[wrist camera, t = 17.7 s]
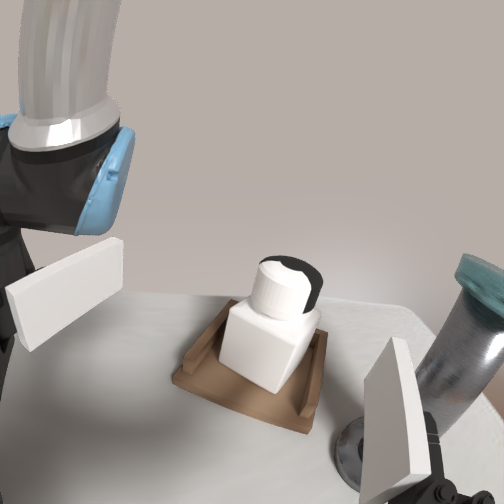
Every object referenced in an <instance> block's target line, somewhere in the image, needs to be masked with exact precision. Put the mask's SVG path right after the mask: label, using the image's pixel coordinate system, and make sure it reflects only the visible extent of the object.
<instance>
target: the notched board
mask: <svg viewBox="0 0 504 504" xmlns="http://www.w3.org/2000/svg"><path fill="white" fill-rule="evenodd" d="M237 303H239V302H237V301H235V300H232V299H231V300H230V301H229V302H228V304H227V305H226V306H225V307H224V308H223V310H222V311H221V312H220V313H219V314H218V316H217V317H216V318H215V319H214V321H213V322H212V323H211V324H210V325H209V327H208V328H207V329H206V330H205V331H204V333H203V334H202V335H201V336H200V337H199V339H198V340H197V341H196V342H195V343H194V345H193V346H192V347H191V348H190V349H189V351H188V352H187V353H186V354H185V355H184V360H183V364H182V365H181V367H180V368H179V369H178V370H177V371H176V373H175V374H174V375H173V384H175V385H177V386H179V387H181V388H183V389H185V390H187V391H189V392H192V393H194V394H196V395H198V396H200V397H203V398H205V399H207V400H209V401H212V402H214V403H217V404H219V405H221V406H224V407H226V408H229V409H231V410H234V411H236V412H239V413H242V414H244V415H247V416H250V417H253V418H255V419H258V420H261V421H264V422H267V423H270V424H273V425H276V426H279V427H283V428H286V429H289V430H293V431H296V432H300V433H303V434H308V433H309V431H310V430H311V429H312V425H313V420H314V415H315V409H316V407H317V405H318V400H319V394H320V388H321V381H322V375H323V368H324V361H325V353H326V345H327V337H328V332H325V331H322V330H319V329H316V330H315V332H314V334H313V337H312V339H311V341H310V344H309V346H308V348H307V350H306V353H305V355H304V357H303V359H302V361H301V362H300V364H299V365H298V366H297V368H296V369H295V370H294V372H293V373H292V374H291V376H290V377H289V378H288V380H287V381H286V382H285V384H284V385H283V386H282V387H281V389H280V390H279V391H278V393H276V394H273V393H271V392H269V391H267V390H265V389H264V388H262V387H260V386H258V385H257V384H255V383H253V382H251V381H250V380H248V379H246V378H245V377H243V376H241V375H240V374H238V373H236V372H235V371H233V370H231V369H230V368H228V367H227V366H225V365H223V364H222V363H220V362H219V354H220V349H221V345H222V340H223V336H224V331H225V327H226V322H227V318H228V313H229V310H230V308H231V307H233V306H234V305H236V304H237Z"/></svg>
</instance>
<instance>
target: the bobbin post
mask: <svg viewBox="0 0 504 504" xmlns="http://www.w3.org/2000/svg"><path fill="white" fill-rule="evenodd" d="M455 278H456V280H457V281H458V283H459V284H460V285H461V286H462V287H463V288H462V290H461V293H460V294H459V297H458V299H457V301H456V303H455V305H454V307H453V309H452V310H451V312H450V314H449V316H448V318H447V320H446V322H445V324H444V325H443V327H442V329H441V331H440V332H439V334H438V336H437V338H436V339H435V341H434V343H433V344H432V346H431V347H430V349H429V351H428V352H427V354H426V355H425V357H424V358H423V360H422V362H421V363H420V365H419V366H418V368H417V369H416V370H415V377H416V381H417V385H418V390H419V395H420V400H421V405H422V410H423V411H427V412H430V413H431V414H432V416H433V418H434V420H435V422H436V425H437V430H438V435H437V436H439V438H440V437H441V436H442V435H443V434H444V433H445V432H446V431H447V430H448V429H449V428H450V427H451V426H452V425H453V424H454V423H455V422H456V421H457V420H458V419H459V418H460V417H461V416H462V415H463V414H464V412H465V411H466V410H467V409H468V408H469V407H470V406H471V404H472V403H473V402H474V401H475V400H476V398H477V397H478V396H479V395H480V393H481V392H482V391H483V390H484V388H485V387H486V386H487V384H488V383H489V382H490V381H491V379H492V378H493V376H494V375H495V374H496V372H497V371H498V369H499V368H500V366H501V365H502V364H503V362H504V270H502V269H500V268H498V267H497V266H495V265H493V264H491V263H489V262H487V261H485V260H483V259H481V258H478V257H476V256H473V255H470V254H463V255H462V258H461V260H460V263H459V265H458V268H457V270H456V272H455ZM363 447H364V417H362V418H359V419H357V420H355V421H353V422H352V423H350V424H349V425H348V426H347V427H346V428H345V430H344V431H343V432H342V433H341V435H340V436H339V438H338V439H337V442H336V445H335V450H334V458H335V464H336V467H337V470H338V472H339V474H340V475H341V477H342V478H343V480H344V481H345V482H346V483H347V484H348V485H349V486H350V487H351V488H353V489H354V490H356V491H357V492H359V493H360V488H361V477H362V464H363Z"/></svg>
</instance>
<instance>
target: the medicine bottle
mask: <svg viewBox="0 0 504 504" xmlns="http://www.w3.org/2000/svg"><path fill="white" fill-rule="evenodd" d="M322 285H323V279H322V276H321V274H320V273H319V272H318V271H317V270H316V269H315V268H314V267H312V266H311V265H310V264H308V263H306V262H305V261H302V260H300V259H297V258H294V257H288V256H270V257H267V258H265V259H263V260H262V261H261V262H260V263H259V267H258V271H257V274H256V278H255V282H254V286H253V290H252V293H251V295H250V296H248V297H247V298H245V299H244V300H242V301H241V302H239V303H237V304H236V305H234V306H233V307H231V308H230V310H229V313H228V318H227V322H226V327H225V331H224V336H223V340H222V345H221V349H220V354H219V362H220V363H222V364H223V365H225V366H227V367H228V368H230V369H231V370H233V371H235V372H236V373H238V374H240V375H241V376H243V377H245V378H246V379H248V380H250V381H251V382H253V383H255V384H257V385H258V386H260V387H262V388H264V389H265V390H267V391H269V392H271V393H273V394H276V393H278V391H279V390H280V389H281V387H282V386H283V385H284V384H285V382H286V381H287V380H288V378H289V377H290V376H291V374H292V373H293V372H294V370H295V369H296V368H297V366H298V365H299V364H300V362H301V361H302V359H303V357H304V355H305V353H306V350H307V348H308V346H309V344H310V341H311V339H312V337H313V334H314V332H315V330H316V327H317V325H318V323H319V320H320V318H321V315H322V313H321V311H319V310H317V309H315V308H314V306H315V304H316V301H317V298H318V296H319V293H320V290H321V288H322Z"/></svg>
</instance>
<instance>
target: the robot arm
mask: <svg viewBox="0 0 504 504" xmlns="http://www.w3.org/2000/svg"><path fill="white" fill-rule="evenodd" d="M120 4H121V0H24V5H23V12H22V19H21V28H20V39H19V58H18V82H19V83H18V84H19V103H20V111H19V113H18V114H7V115H0V400H1V395H2V389H3V384H4V380H5V375H6V371H7V367H8V363H9V359H10V356H11V352H12V348H13V345H14V340H15V338H14V334H15V333H18V336H19V339H20V342H21V343H22V344H23V346H24V347H25V348H26V349H27V350H28V351H29V352H31V351H33V350H34V349H35V348H37V347H38V346H39V345H41V344H42V343H44V342H45V341H46V340H48V339H49V338H50V337H52V336H53V335H55V334H56V333H57V332H59V331H60V330H62V329H63V328H64V327H66V326H67V325H69V324H70V323H72V322H73V321H74V320H76V319H77V318H79V317H80V316H82V315H83V314H85V313H86V312H87V311H89V310H90V309H92V308H93V307H95V306H96V305H98V304H99V303H101V302H102V301H104V300H105V299H107V298H108V297H110V296H111V295H113V294H114V293H116V292H117V291H119V290H120V289H122V287H123V285H122V284H123V242H124V241H123V240H120V239H118V238H115V237H111V238H108V239H106V240H103V241H101V242H99V243H96V244H94V245H92V246H90V247H87V248H85V249H83V250H81V251H78V252H76V253H74V254H72V255H70V256H67V257H65V258H63V259H61V260H59V261H57V262H55V263H53V264H50V265H48V266H46V267H42V268H40V269H37V270H35V267H34V265H33V263H32V260H31V258H30V256H29V253H28V251H27V248H26V246H25V243H24V241H23V238H22V235H21V228H27V229H34V230H42V231H48V232H55V233H63V234H70V235H74V236H78V235H102V234H104V233H106V232H107V231H108V230H109V229H110V228H111V227H112V225H113V223H114V221H115V218H116V215H117V212H118V209H119V205H120V202H121V198H122V194H123V190H124V187H125V183H126V179H127V175H128V171H129V167H130V163H131V159H132V154H133V150H134V143H135V132H134V130H132V129H130V128H128V127H126V126H124V127H119V122H120V107H119V104H118V103H117V102H116V101H115V100H114V99H113V98H111V97H110V96H109V95H108V94H107V92H106V91H107V81H108V71H109V64H110V56H111V49H112V42H113V38H114V32H115V27H116V22H117V17H118V12H119V8H120ZM437 435H438V430H437V425H436V422H435V420H434V418H433V416H432V414H431V413H430V412H427V411H423V410H422V405H421V400H420V395H419V390H418V385H417V381H416V377H415V372H414V368H413V364H412V360H411V357H410V353H409V349H408V345H407V342H406V340H403V339H400V338H396V337H393V336H391V338H390V340H389V342H388V343H387V345H386V347H385V348H384V350H383V351H382V353H381V355H380V356H379V358H378V359H377V361H376V363H375V364H374V366H373V367H372V369H371V370H370V372H369V373H368V375H367V376H366V378H365V379H364V447H363V464H362V477H361V488H360V497H359V504H384V503H386V502H388V504H495V501H494V498H493V496H492V494H491V493H489V492H488V491H484V490H483V491H480V492H478V493H477V494H475V495H474V496H472V497H469V496H465V495H462V494H459V493H457V489H456V487H455V485H454V484H453V483H452V481H450V480H448V479H445V477H444V470H443V462H442V454H441V448H440V445H439V443H440V441H439V436H437ZM0 504H3V500H2V495H1V492H0Z"/></svg>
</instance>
